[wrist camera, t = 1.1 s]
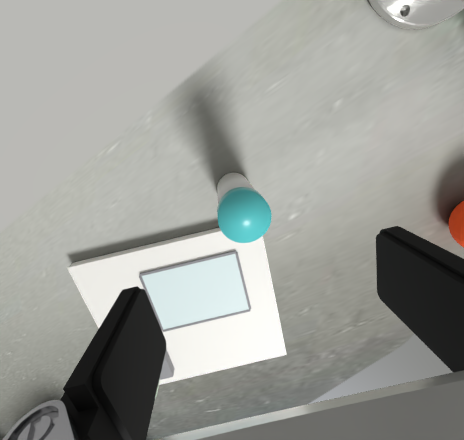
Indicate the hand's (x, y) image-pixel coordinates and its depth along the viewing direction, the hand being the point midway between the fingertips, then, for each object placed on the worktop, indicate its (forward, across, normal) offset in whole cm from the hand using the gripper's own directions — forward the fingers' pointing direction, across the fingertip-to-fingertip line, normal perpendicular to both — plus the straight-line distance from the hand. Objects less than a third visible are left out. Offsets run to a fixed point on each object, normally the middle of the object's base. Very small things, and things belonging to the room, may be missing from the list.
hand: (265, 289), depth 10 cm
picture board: (+18, +9, +14) cm, 24 cm away
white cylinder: (+18, 0, 0) cm, 18 cm away
